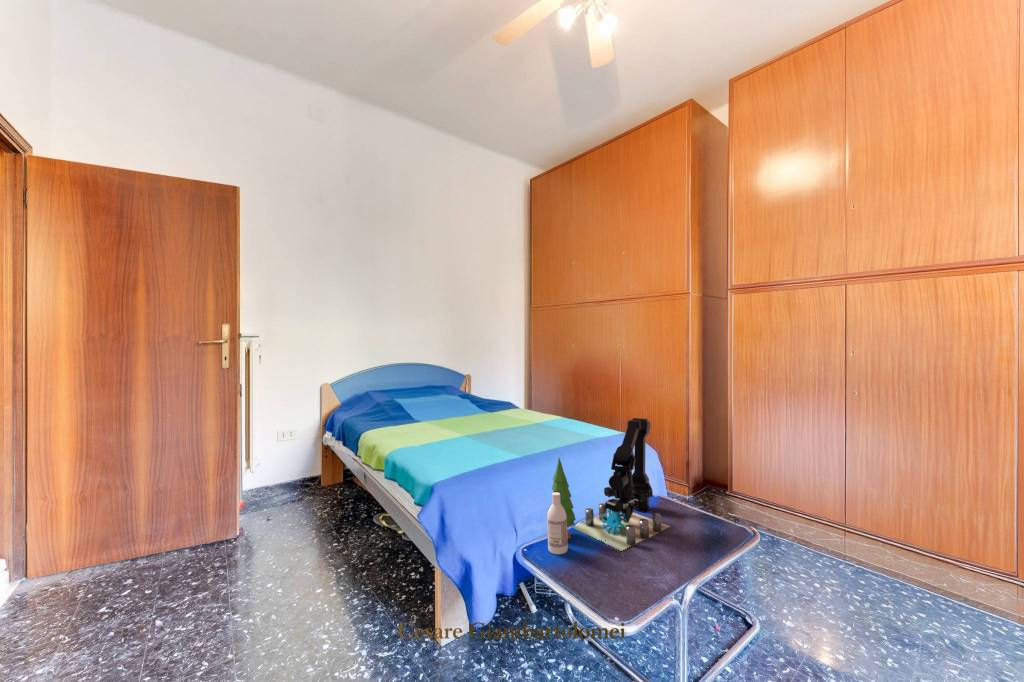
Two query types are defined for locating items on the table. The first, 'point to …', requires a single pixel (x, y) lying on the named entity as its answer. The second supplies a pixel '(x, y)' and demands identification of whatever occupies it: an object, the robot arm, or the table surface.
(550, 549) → the bath foam
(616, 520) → the gear
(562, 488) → the decorative tree
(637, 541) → the board
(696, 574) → the table surface
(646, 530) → the spacer posts
